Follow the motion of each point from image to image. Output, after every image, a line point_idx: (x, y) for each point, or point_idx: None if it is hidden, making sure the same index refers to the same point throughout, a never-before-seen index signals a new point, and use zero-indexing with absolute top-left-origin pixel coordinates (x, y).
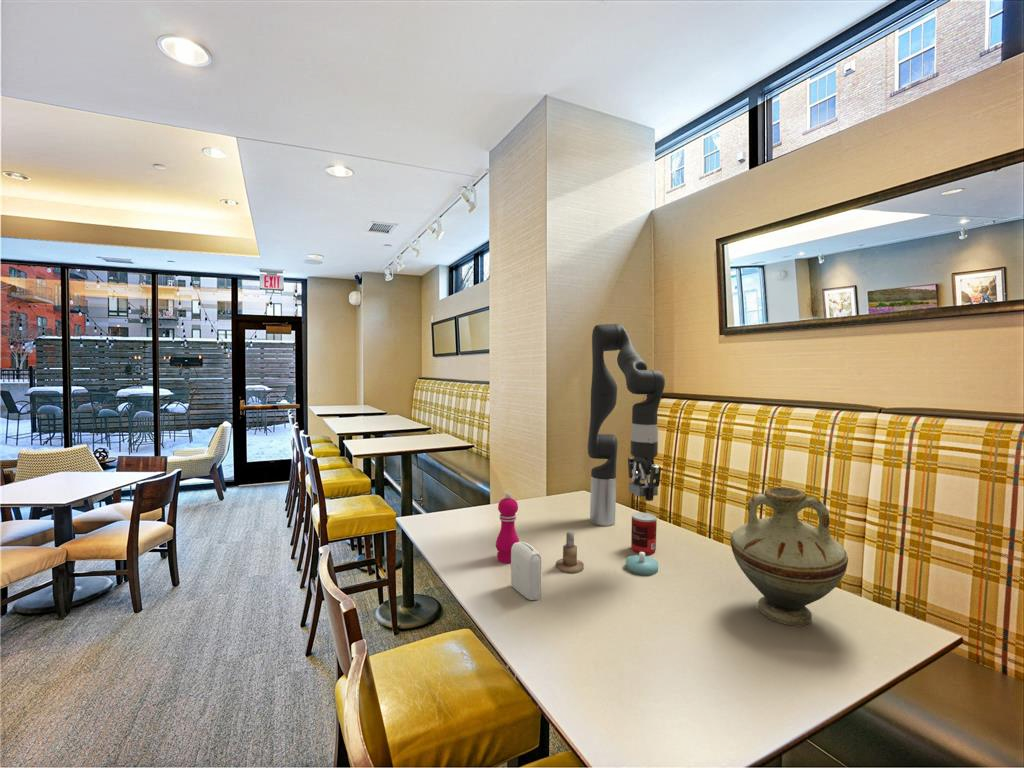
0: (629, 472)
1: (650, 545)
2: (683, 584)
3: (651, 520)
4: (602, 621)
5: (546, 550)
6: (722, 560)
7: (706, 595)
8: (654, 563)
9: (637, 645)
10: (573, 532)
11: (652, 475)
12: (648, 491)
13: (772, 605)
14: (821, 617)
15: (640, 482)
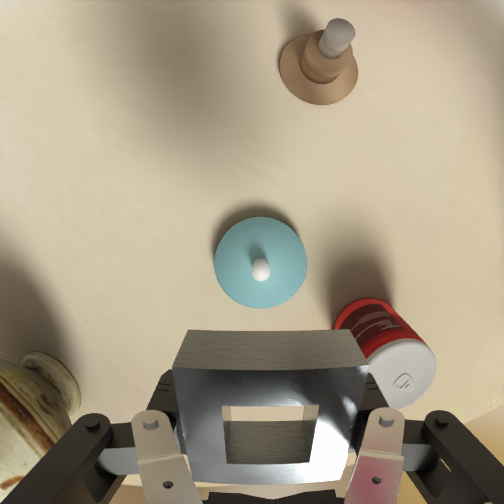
0: (460, 439)
1: None
2: (154, 306)
3: None
4: (66, 60)
5: (428, 69)
6: None
7: (104, 318)
8: (239, 292)
9: (7, 99)
10: (344, 41)
11: (28, 477)
12: (158, 401)
13: (31, 368)
14: None
15: (342, 446)
